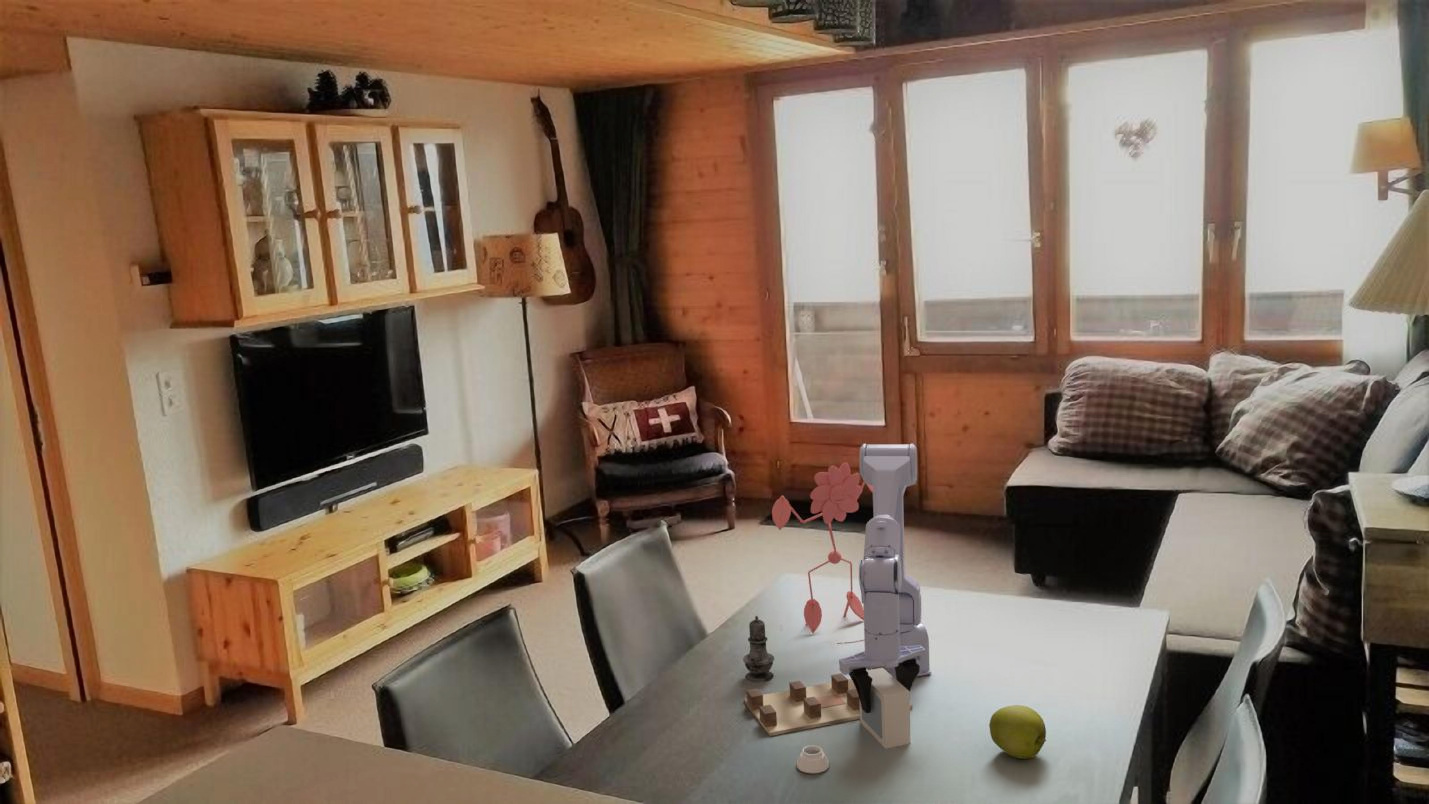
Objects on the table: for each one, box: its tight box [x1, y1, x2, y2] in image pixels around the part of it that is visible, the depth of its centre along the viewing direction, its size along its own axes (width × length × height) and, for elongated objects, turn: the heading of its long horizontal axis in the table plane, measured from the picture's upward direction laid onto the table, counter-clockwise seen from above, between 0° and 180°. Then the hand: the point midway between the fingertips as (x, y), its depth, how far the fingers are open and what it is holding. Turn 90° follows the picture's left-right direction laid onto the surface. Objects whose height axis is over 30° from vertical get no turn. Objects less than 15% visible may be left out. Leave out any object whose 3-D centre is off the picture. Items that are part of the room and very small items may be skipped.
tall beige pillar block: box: [859, 668, 912, 749], centre depth 180 cm, size 5×10×9 cm, turn 16°
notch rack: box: [743, 666, 913, 737], centre depth 192 cm, size 26×14×3 cm, turn 106°
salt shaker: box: [742, 615, 775, 683], centre depth 204 cm, size 6×6×12 cm
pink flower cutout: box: [771, 461, 873, 645], centre depth 222 cm, size 15×26×35 cm, turn 113°
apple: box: [988, 704, 1047, 760], centre depth 170 cm, size 8×9×8 cm
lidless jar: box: [796, 744, 830, 774], centre depth 171 cm, size 5×3×5 cm
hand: (884, 707), depth 180 cm, fingers open, 6 cm apart
